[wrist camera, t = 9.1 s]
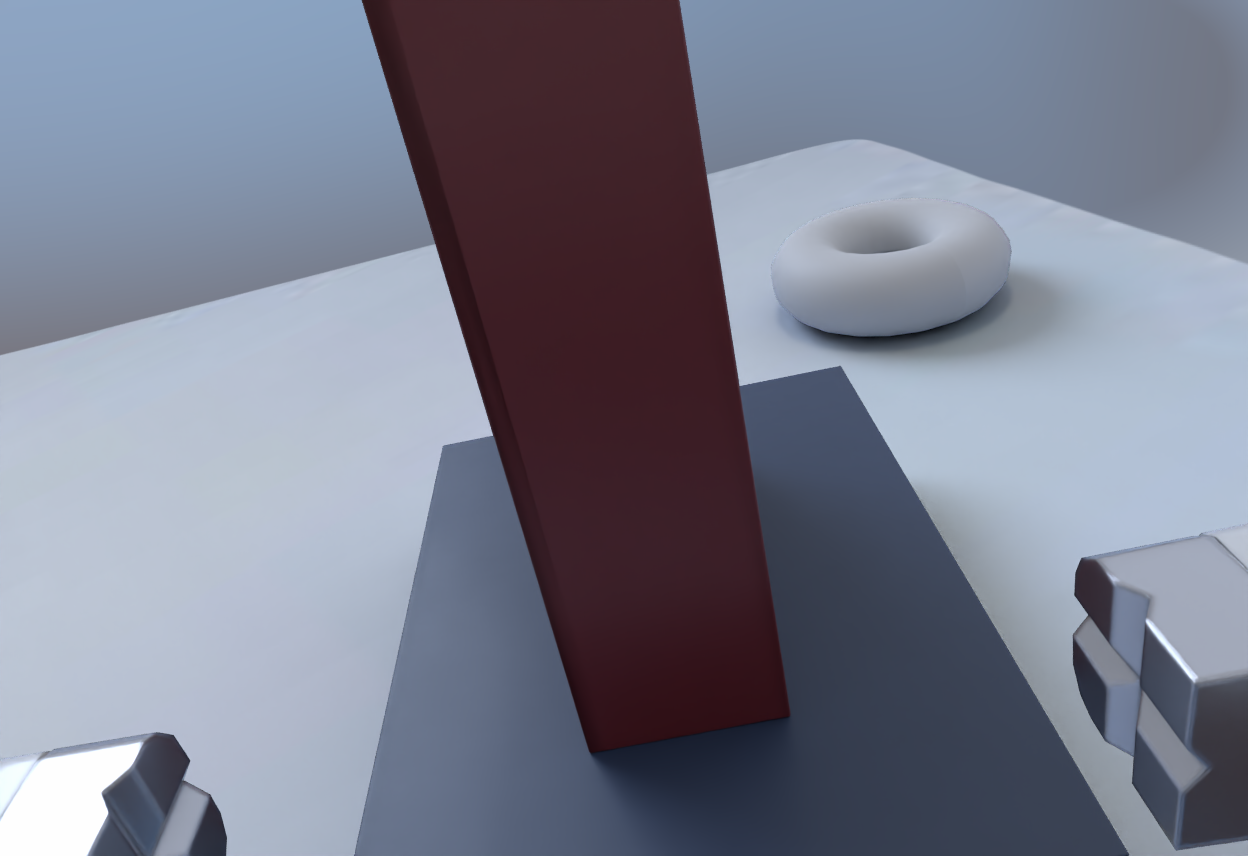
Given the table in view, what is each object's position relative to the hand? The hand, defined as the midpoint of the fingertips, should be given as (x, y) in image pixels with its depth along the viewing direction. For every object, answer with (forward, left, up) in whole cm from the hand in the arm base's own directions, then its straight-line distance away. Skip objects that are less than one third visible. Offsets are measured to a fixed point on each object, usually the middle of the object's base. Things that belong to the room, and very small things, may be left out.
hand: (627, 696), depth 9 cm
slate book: (+8, +9, -12) cm, 17 cm away
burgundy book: (+8, +9, -8) cm, 15 cm away
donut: (+30, +18, -12) cm, 37 cm away
